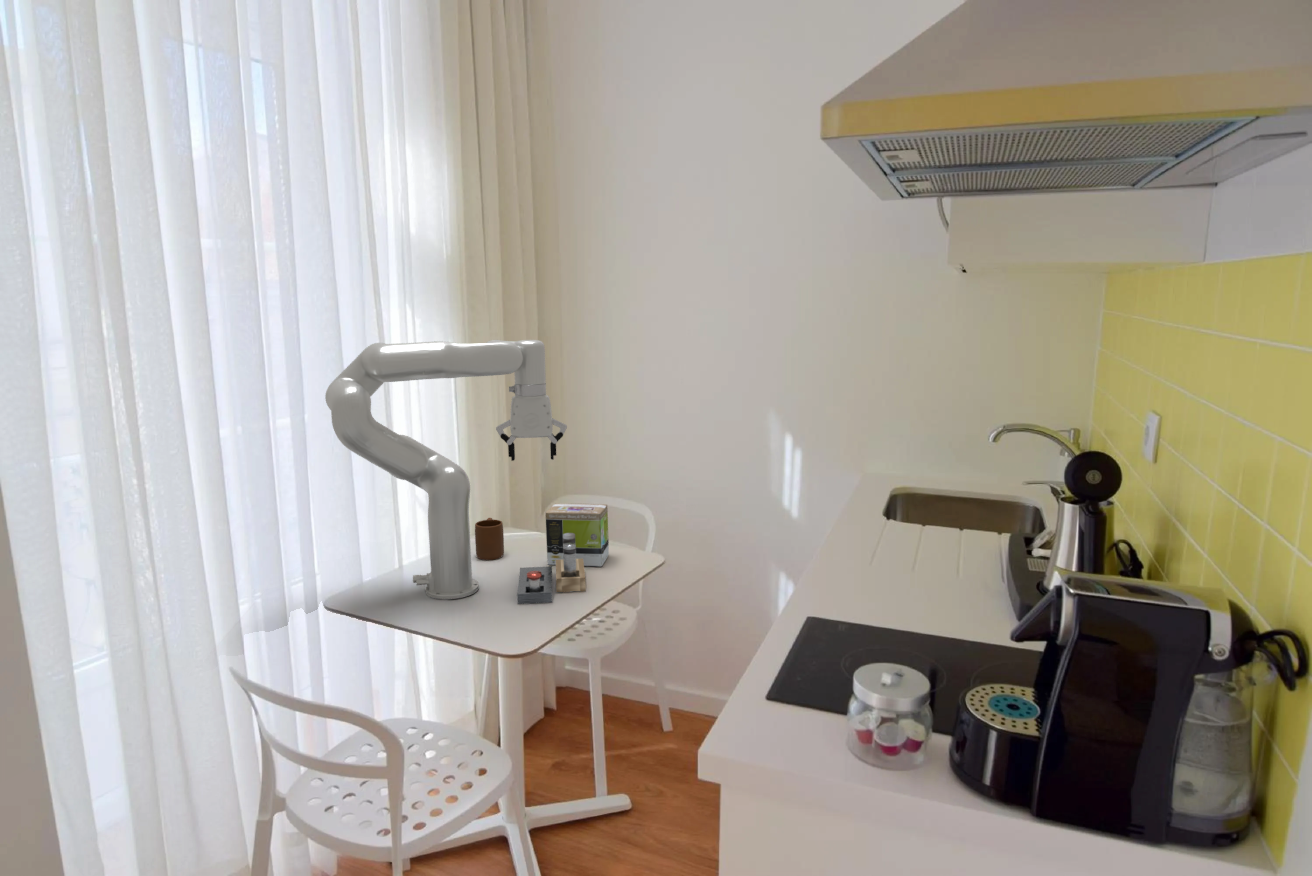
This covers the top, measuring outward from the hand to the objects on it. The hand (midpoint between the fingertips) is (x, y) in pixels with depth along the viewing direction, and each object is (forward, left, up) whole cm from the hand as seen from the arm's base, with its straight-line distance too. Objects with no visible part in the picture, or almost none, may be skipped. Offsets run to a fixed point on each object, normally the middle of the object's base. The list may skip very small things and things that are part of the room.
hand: (532, 459), depth 196 cm
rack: (+9, -6, -30) cm, 32 cm away
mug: (-13, +19, -31) cm, 38 cm away
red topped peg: (0, -17, -29) cm, 34 cm away
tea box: (+11, +10, -31) cm, 34 cm away
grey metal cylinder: (+8, -10, -30) cm, 33 cm away
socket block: (0, -10, -30) cm, 32 cm away
